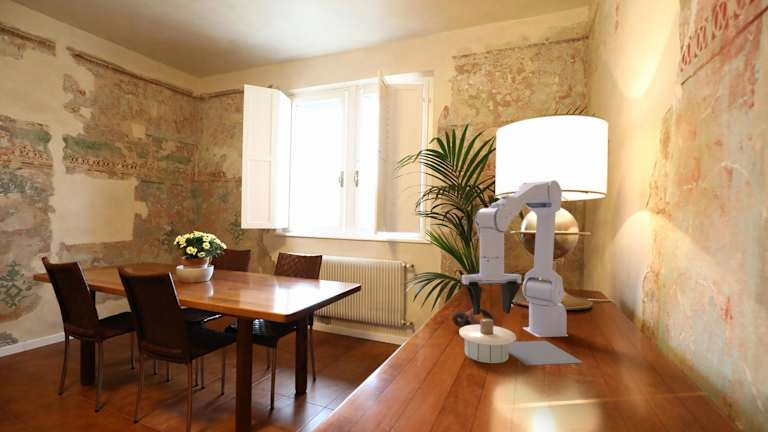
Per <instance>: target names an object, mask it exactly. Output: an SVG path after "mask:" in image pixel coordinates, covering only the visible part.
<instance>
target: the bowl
mask: <svg viewBox="0 0 768 432" xmlns="http://www.w3.org/2000/svg"><path fill="white" fill-rule="evenodd" d="M464 354H465V355H466V356H467V357H468V358H469V359H471V360H473V361H474V360H475V361H476V362H480V363H487V364H500V363H505V362H507V361H508V359H509V356H510V355H509V354H510V353H509V344H507V345H484V344H478V343H474V342H471V341H468V340H466V339H464Z"/></svg>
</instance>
